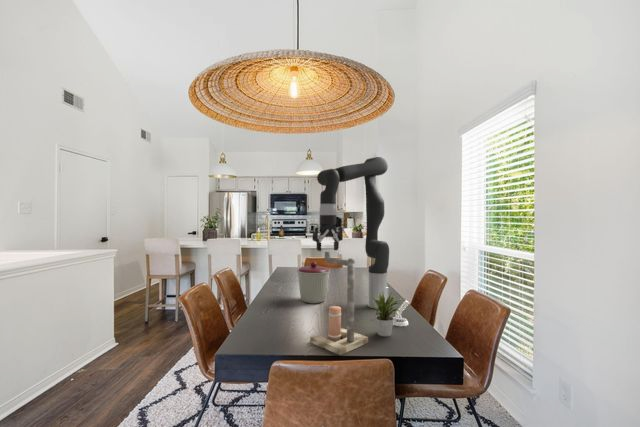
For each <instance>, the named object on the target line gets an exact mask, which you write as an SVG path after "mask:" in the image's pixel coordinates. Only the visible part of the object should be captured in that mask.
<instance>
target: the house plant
mask: <svg viewBox="0 0 640 427" xmlns="http://www.w3.org/2000/svg"><path fill="white" fill-rule="evenodd" d="M392 294H393V293H392V292H391V293H390V294H388V298H387V300H386V302H385V298H384V294H383V291H382V296H381V294H380V293H379V300H376V299H375V298H374V297H372V298H373V299H374V301H375V302H376V303H377V304H376V305H377V306H378V308H379V309H377V308H375V307H374V306H368V307H369V308H371V309H374V310H375V311H376V313H375V315H376V316H374V318H375V319H374V320H375V324H376V332H377V335H378V336H380V337H390V336H391V335H392V330H393V327H394V325H393V320H394V317H393V316H392V314H396V315H397V313H396V312H397V311H400V310H398V309H399V308H401V307H400V306H398V307H394V306H395V305H397V304H398V305H399V304H400V302H399V301H401V298H399V299H398V298H397V299H396V300H395V299H394V298H395V297H396V294H395V295H392ZM396 315H395V316H396Z"/></svg>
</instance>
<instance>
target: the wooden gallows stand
mask: <svg viewBox="0 0 640 427" xmlns="http://www.w3.org/2000/svg"><path fill="white" fill-rule="evenodd" d="M324 263H327V264H334V265H338V266H346V267H347V268H346V269H347V273H346V274H347V282H346V284H347V286H346V288H347V289H346V291H347V292H346V293H347V294H346V296H347V298H346V300H347V301H346V302H347V303H346V306H347V307H346V310H347V311H346V329H345V328H344V327H341V337H340V338H342V339H340V340H339V341H337V342H334V341H331V340H328V338H326V337H323V336H320V335H318V334H314V335H311V336H310V337H309V342H310V344H313V345H315V346H318V347H320V348H322V349H324V348H325V350H326V351H330V352H332V353H334V354H336V355H337V356H342V355H344V354H346V353H349V352H350V351H351V352H352V350H355V349H358V348H359V347H362V346H364V345H366V344H368V343H369V337H368V336H366V335H363V334H360V333H357V332H355V259H354V258H352V257H351V258H348V259H341V258H334V257H331V251H324Z"/></svg>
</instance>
